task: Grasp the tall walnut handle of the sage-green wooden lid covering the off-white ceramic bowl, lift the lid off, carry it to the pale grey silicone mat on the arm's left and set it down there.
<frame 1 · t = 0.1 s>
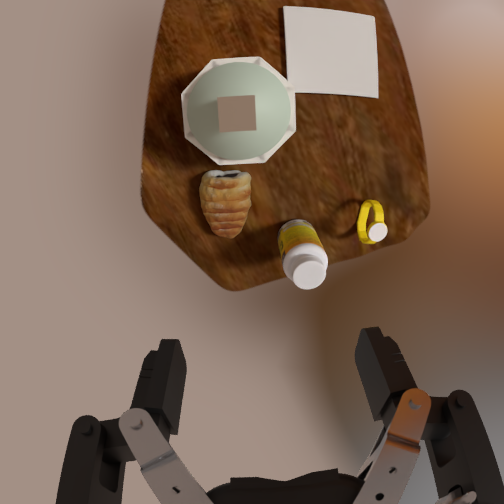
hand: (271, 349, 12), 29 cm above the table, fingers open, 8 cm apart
lid: (238, 110, 29), point 5 cm above the table, touching bowl
supplement bottle: (295, 235, 42), on the table
mat: (332, 50, 29), on the table
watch: (362, 213, 41), on the table
pastry: (227, 196, 40), on the table
bowl: (239, 109, 33), on the table
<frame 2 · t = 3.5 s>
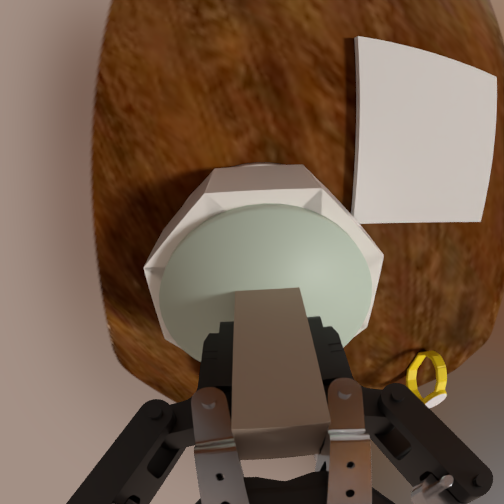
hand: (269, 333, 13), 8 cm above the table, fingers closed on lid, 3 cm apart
lid: (266, 303, 15), point 5 cm above the table, touching bowl, gripper
mat: (433, 138, 16), on the table
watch: (416, 359, 28), on the table
bowl: (261, 250, 20), on the table
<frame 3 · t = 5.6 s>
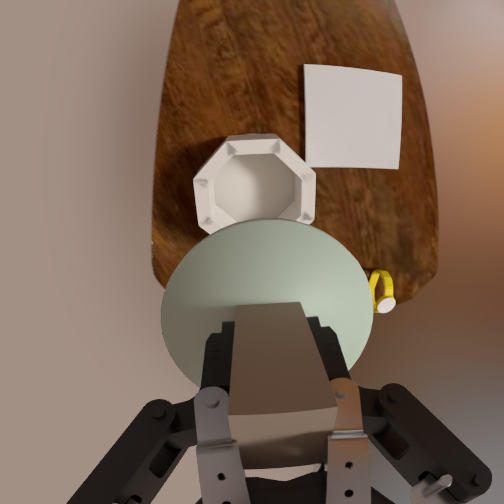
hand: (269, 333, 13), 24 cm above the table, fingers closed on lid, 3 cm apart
lid: (268, 323, 15), point 22 cm above the table, tilted 14°, touching gripper
mat: (355, 117, 30), on the table
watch: (372, 279, 41), on the table
bowl: (253, 183, 34), on the table
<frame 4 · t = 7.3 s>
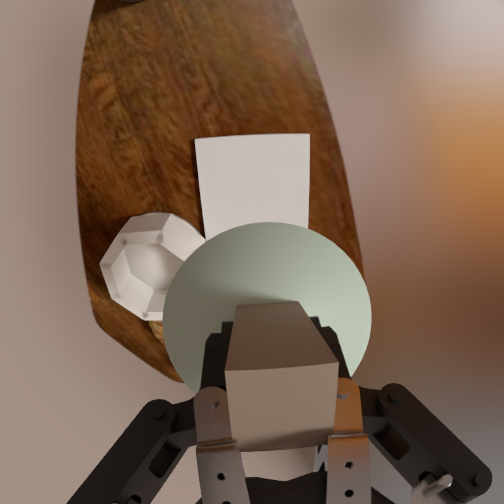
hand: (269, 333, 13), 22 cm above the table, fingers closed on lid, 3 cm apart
lid: (268, 327, 15), point 20 cm above the table, tilted 25°, touching gripper
mat: (254, 187, 32), on the table
pastry: (175, 320, 42), on the table
bowl: (162, 255, 36), on the table
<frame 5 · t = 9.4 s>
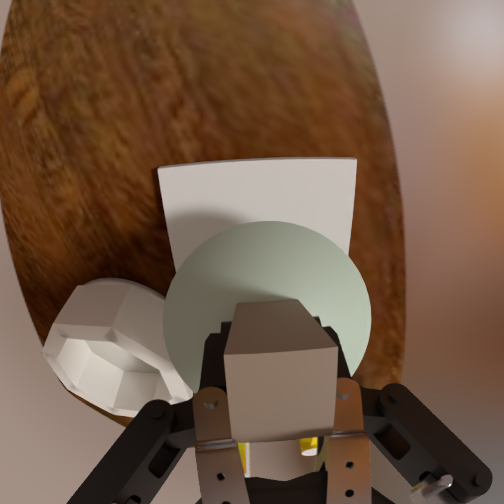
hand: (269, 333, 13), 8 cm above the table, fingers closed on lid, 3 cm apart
lid: (268, 326, 15), point 6 cm above the table, tilted 29°, touching gripper
supplement bottle: (227, 424, 33), on the table
mat: (261, 246, 20), on the table
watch: (307, 409, 32), on the table
bowl: (128, 332, 24), on the table
when the fingers open (5 cm above the table, at t = 11.0 s): lid drops 2 cm, resting on mat.
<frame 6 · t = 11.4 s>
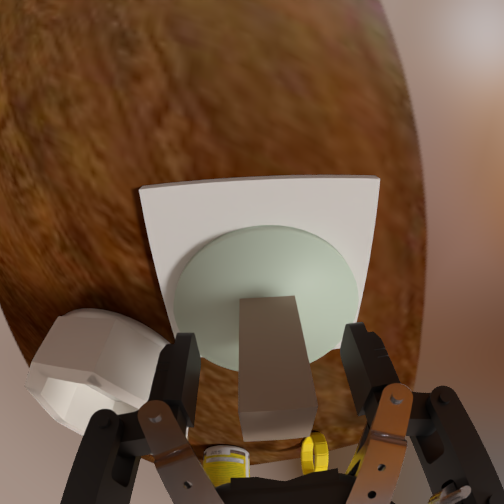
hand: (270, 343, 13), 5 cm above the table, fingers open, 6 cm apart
lid: (266, 308, 17), point 1 cm above the table, touching mat
supplement bottle: (226, 449, 30), on the table
mat: (264, 278, 17), on the table
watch: (310, 435, 29), on the table
bowl: (117, 363, 21), on the table
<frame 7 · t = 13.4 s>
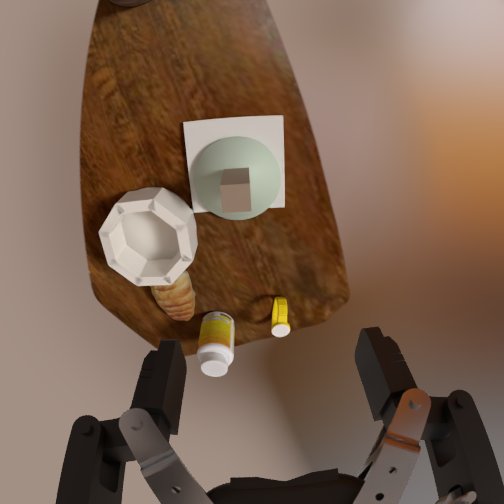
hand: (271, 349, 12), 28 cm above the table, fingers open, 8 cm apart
lid: (237, 178, 36), point 1 cm above the table, touching mat
supplement bottle: (218, 321, 49), on the table
mat: (235, 163, 36), on the table
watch: (277, 304, 48), on the table
pastry: (176, 287, 46), on the table
bowl: (155, 227, 40), on the table
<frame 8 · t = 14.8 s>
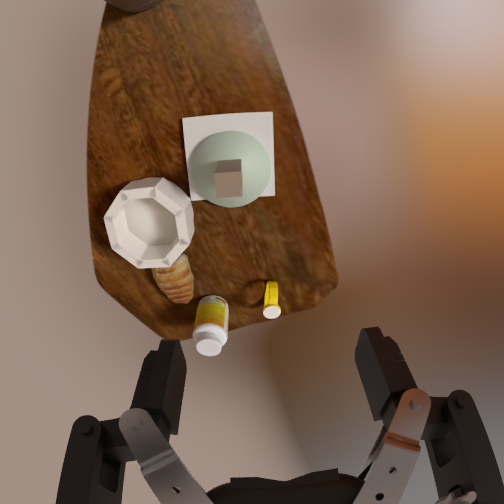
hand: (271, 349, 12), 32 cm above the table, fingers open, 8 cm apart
lid: (231, 168, 40), point 1 cm above the table, touching mat
supplement bottle: (213, 305, 52), on the table
mat: (229, 156, 39), on the table
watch: (269, 289, 51), on the table
pastry: (176, 272, 49), on the table
bowl: (155, 214, 43), on the table
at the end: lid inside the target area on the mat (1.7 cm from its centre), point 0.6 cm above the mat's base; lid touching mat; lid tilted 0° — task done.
